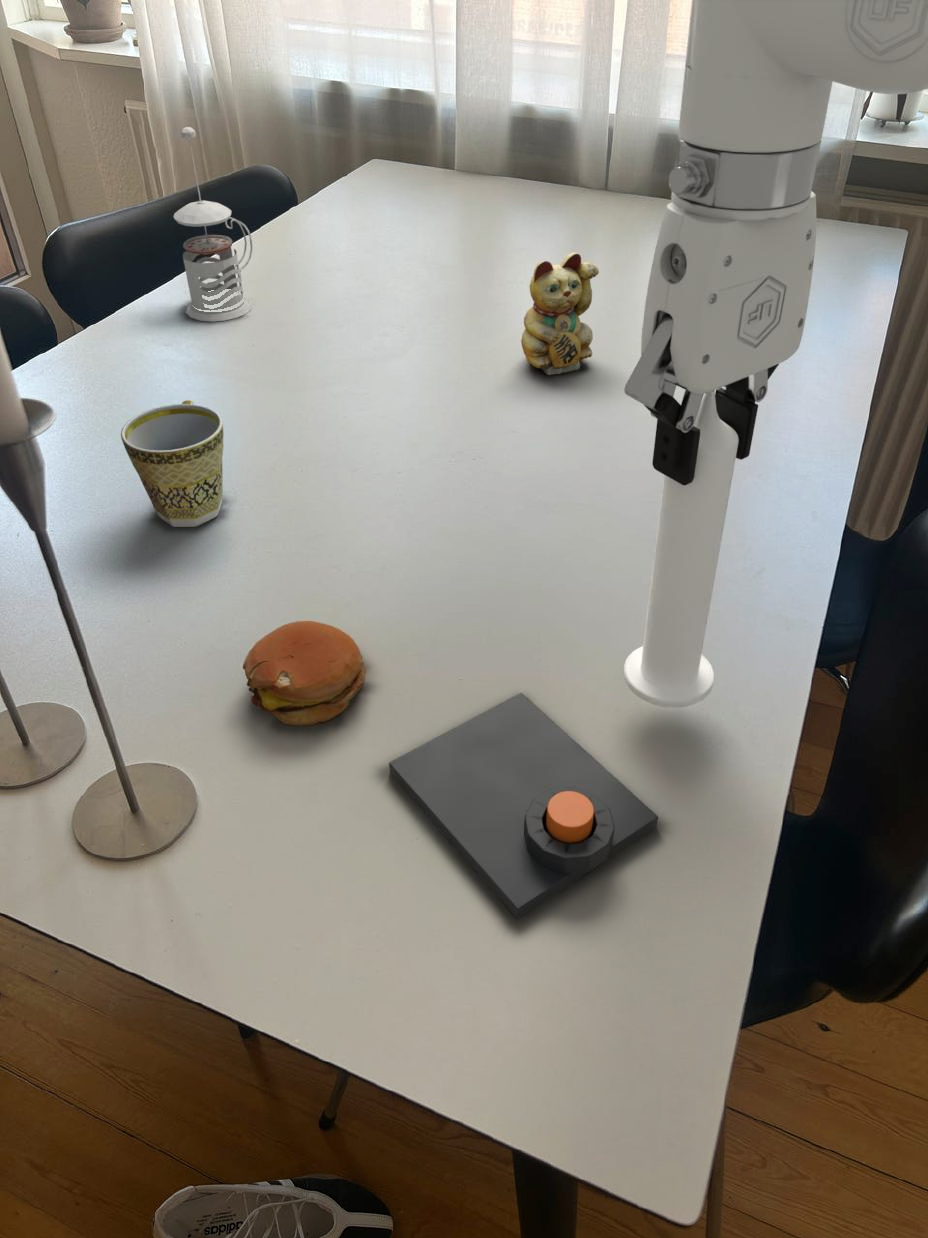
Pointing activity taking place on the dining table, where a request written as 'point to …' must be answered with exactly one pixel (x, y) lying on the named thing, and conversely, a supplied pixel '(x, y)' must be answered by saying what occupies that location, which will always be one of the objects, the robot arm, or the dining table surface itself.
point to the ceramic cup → (178, 460)
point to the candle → (685, 572)
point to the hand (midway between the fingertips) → (700, 460)
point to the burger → (304, 672)
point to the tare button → (569, 816)
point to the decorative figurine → (559, 315)
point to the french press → (220, 245)
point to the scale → (519, 801)
